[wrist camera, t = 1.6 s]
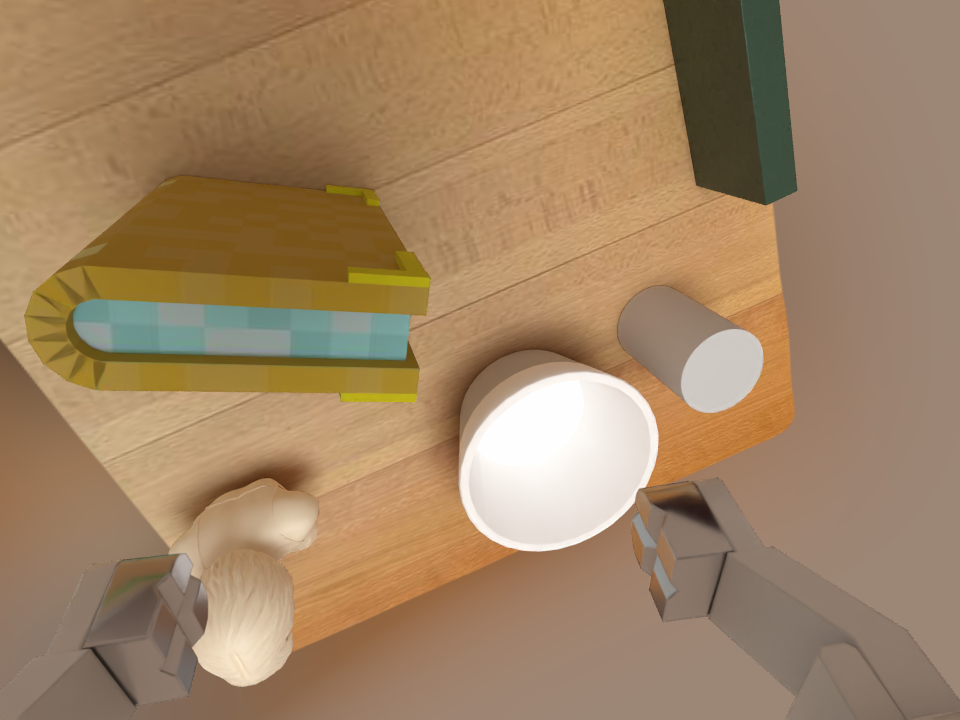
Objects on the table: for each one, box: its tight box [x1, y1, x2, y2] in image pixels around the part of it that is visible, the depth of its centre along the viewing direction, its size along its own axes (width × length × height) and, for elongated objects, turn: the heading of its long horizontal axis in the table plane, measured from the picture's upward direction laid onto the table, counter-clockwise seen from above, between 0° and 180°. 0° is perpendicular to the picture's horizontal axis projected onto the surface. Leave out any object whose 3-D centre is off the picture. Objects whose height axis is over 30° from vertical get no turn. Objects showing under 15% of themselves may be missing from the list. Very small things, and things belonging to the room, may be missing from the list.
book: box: [24, 175, 431, 402], centre depth 39 cm, size 17×7×25 cm, turn 81°
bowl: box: [459, 349, 658, 551], centre depth 60 cm, size 19×19×11 cm
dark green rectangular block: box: [664, 0, 797, 205], centre depth 50 cm, size 18×3×10 cm, turn 21°
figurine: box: [168, 478, 319, 687], centre depth 52 cm, size 14×9×20 cm
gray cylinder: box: [618, 286, 763, 413], centre depth 59 cm, size 8×8×12 cm
